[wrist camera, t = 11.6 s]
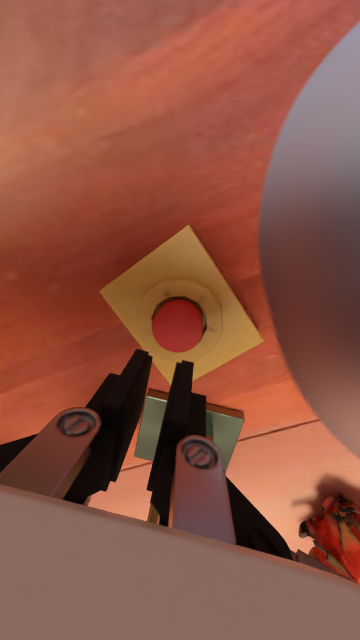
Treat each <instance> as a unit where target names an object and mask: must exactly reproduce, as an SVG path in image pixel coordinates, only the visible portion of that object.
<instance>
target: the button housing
mask: <svg viewBox="0 0 360 640" xmlns="http://www.w3.org/2000/svg"><path fill="white" fill-rule="evenodd" d="M99 293H100V294H101V296H102V297H103V298H104V299H105V301H106V302H107V303H108V305H109V306H110V307H111V308H112V310H113V311H114V312H115V314H116V315H117V316H118V318H119V319H120V320H121V321H122V323H123V324H124V325H125V327H126V328H127V329H128V331H129V332H130V333H131V334H132V336H133V337H134V338H135V340H136V341H137V342H138V343H139V345H140V346H141V347H142V349H143V350H144V351H147V352H149V355H150V356H153V358H152V362H153V363H154V364H155V366H156V367H157V368H158V369H159V371H160V372H161V373H162V375H163V376H164V377H165V378H166V380H167V381H168V382H169V384H170V385H171V383H172V379H173V375H174V371H175V367H176V362H179V363H181V362H182V360H185V361H189V362H193V363H194V369H193V379H192V381H194V380H196V379H197V378H199V377H201V376H203V375H205V374H206V373H208V372H210V371H212V370H214V369H215V368H217V367H219V366H221V365H223V364H224V363H226V362H228V361H230V360H232V359H233V358H235V357H237V356H239V355H241V354H242V353H244V352H246V351H248V350H249V349H251V348H253V347H255V346H257V345H258V344H260V343H262V342H264V340H263V338H262V336H261V335H260V333H259V331H258V329H257V328H256V326H255V325H254V323H253V322H252V320H251V319H250V317H249V315H248V314H247V312H246V311H245V309H244V308H243V306H242V305H241V303H240V301H239V300H238V298H237V297H236V295H235V294H234V292H233V291H232V289H231V288H230V286H229V284H228V283H227V281H226V280H225V278H224V277H223V275H222V274H221V272H220V271H219V269H218V267H217V266H216V264H215V263H214V261H213V260H212V258H211V257H210V255H209V253H208V252H207V250H206V249H205V247H204V246H203V244H202V243H201V241H200V240H199V238H198V236H197V235H196V233H195V232H194V230H193V229H192V227H191V226H190V225H187V226H186V227H184V228H183V229H182V230H180V231H179V232H178V233H176V234H175V235H174V236H172V237H171V238H170V239H168V240H167V241H166V242H164V243H163V244H162V245H160V246H159V247H158V248H156V249H155V250H154V251H152V252H151V253H150V254H148V255H147V256H145V257H144V258H143V259H141V260H140V261H139V262H137V263H136V264H135V265H133V266H132V267H131V268H129V269H128V270H127V271H125V272H124V273H123V274H121V275H120V276H119V277H117V278H116V279H115V280H113V281H112V282H111V283H109V284H108V285H107V286H105V287H104V288H103V289H101V290H100V291H99ZM175 299H183V300H187V301H189V302H191V303H193V304H194V305H195V306H196V307H197V308H198V309H199V311H200V312H201V315H202V318H203V332H202V337H201V339H200V341H199V343H198V344H197V345H196V346H195V347H194V348H192V349H191V350H189V351H186V352H181V353H175V352H170V351H168V350H166V349H164V348H162V347H161V346H160V345H159V344H158V343H157V342H156V340H155V338H154V336H153V333H152V323H153V319H154V317H155V315H156V314H157V312H158V311H159V309H160V308H161V307H162V306H163V305H164V304H165V303H167V302H168V301H171V300H175Z"/></svg>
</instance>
